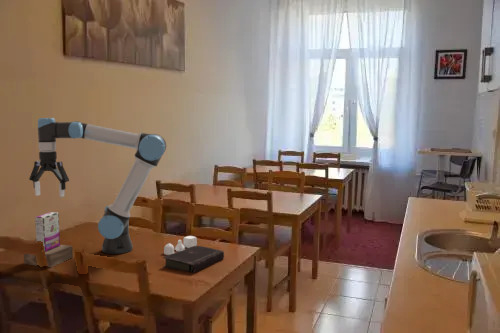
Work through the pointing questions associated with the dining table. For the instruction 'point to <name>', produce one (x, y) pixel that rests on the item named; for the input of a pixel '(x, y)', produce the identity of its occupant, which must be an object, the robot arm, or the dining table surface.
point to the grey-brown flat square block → (52, 256)
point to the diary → (193, 258)
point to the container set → (181, 245)
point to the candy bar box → (48, 230)
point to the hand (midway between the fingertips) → (49, 196)
